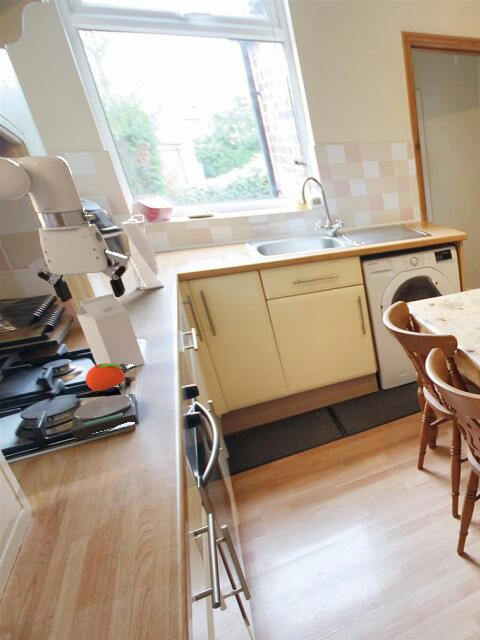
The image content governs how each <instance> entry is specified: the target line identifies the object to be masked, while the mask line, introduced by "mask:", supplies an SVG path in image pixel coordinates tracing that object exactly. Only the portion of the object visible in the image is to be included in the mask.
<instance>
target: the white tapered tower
mask: <svg viewBox="0 0 480 640" xmlns="http://www.w3.org/2000/svg"><path fill="white" fill-rule="evenodd" d="M139 216H140V217H141V216H142V220H138V219H137V218H134V217H139ZM145 218H146V215H145V214H141V213H139V214H138V213H137V214H134V215H133V214H132V215H131V216H130V217H129V219H127V220H123V221H121V222H120V224H121V226H122V228H123V230H124V232H125V234H126V236H127V238H128V247H129V252H130V255H129V259H130V260H129V263H130V264H131V270H132V274H133V277H134V281H135V284H136V288H137V289H139V290H140V291H143V292H145V291H149V290H155V289H160V288H163V287H165V285H164V284H163V283H162V282H161V281H160V276H159V267H158V262H157V261H158V260H157V256H156V253H155V251H154V248H153V246H152V244H151V241H150V240H149V238H148V237H147V234H146V225H145V223H146V222H145ZM141 280H142V281H141Z"/></svg>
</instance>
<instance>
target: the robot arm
mask: <svg viewBox="0 0 480 640" xmlns="http://www.w3.org/2000/svg"><path fill="white" fill-rule="evenodd" d="M26 195H28V197H29V199H30V202H31V204H32V206H33V209H34V211H35V214H36V216H37V219H38V221H39V224H40V226H41V227H39V228H38V234H39V241H40V246H41V251H42V253H43V256H42V257H39V259H37V260H35V261H33V262H31V263H30V264H28V268H29V269H30V270H31V271H32V272H33V273H35V274H36V275H37V277H38V278H40V279H42V280H43V281H46V282H47V283H48V284H49V285H51V286H52V287H53V289H54V292H55V294H56V296H57V298H58V299H59V300H60V301H61V303H66V302H68V301H70V300H71V299H73V295H72V292H71V290H70V288H69V285H68V283H67V281H66V280H63V278H64V277H65V276H73V275H75V276H76V275H86V274H98V273H103V274H104V275H106V276H107V277H108V278H110V280H109V284H110V286H111V289H112V293H113V296H114V298H121V297H123V295H125V293H126V288H125V285H124V282H123V279H122V277H123V275H124V274H125V273H126V271H127V270H128V267H129V264H130V261H131V259H130V257H128V256H126V255H122V254H119V253H116V252H113V251H111V250H110V248H109V246H108V244H107V243H106V240H105V238H104V236H103V235H102V233H101V231H100V230H99V228H98V225H96V223H90V222H91V220H96V215H95V213H94V212H89V211H87V209H85V206H84V203H83V201H82V198H81V195H80V192H79V190H78V187H77V184H76V181H75V179H74V176H73V173H72V170H71V167H70V165H69V163H68V161H66V159H64V158H63V157H62V156H58V155H57V156H56V155H27V156H21V157H4V156H3V157H2V156H0V200H1V201H13V200H14V201H15V200H19V199H21V198H23V197H25V196H26ZM115 262H118V263H119V265H118V268H116V267H114V266H115ZM45 265H47V267H48V270H49V271H50V272H49V271H48V270H45V268H43V266H45Z"/></svg>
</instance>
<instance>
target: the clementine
mask: <svg viewBox="0 0 480 640" xmlns="http://www.w3.org/2000/svg"><path fill="white" fill-rule="evenodd" d="M121 368H122V369H124V368H123V367H121V366H119V365H116V364H109V363H104V364H99V365H96V364H95V365H94V366H92V367H91V368H90V369H89V370H88V371H87V373H86V375H85V383H86V386H87V387H88V388H89V389H91V390H92V391H93V392H95V391H102V390H107V389H109V388H111V387H114V386H117V385H119V384H121V383H122V382H123V381H124V380H125V381H126V374H125V372H127V370H125V369H124V370H125V371H123V370H122V369H121Z"/></svg>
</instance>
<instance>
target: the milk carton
mask: <svg viewBox="0 0 480 640" xmlns="http://www.w3.org/2000/svg"><path fill="white" fill-rule="evenodd" d="M78 303H79V305H80V307H79V308H78V311H77V314H76V317H77V320H78V322H79V325H80V328H81V330H82V332H83V334H84V337H85V340H86V342H87V344H88V347H89V350H90V352H91V354H92V358H93V360H94V362H95V366H96V365H99V364H104V363H109V364H116V365H120V364H123V363H127V364H133V365H136V367H138V366H141V365H143V364H145V363H146V362H145V359H144V355H143V353H142V350H141V348H140V345H139V342H138V339H137V336H136V334H135V331H134V327H133V325H132V322H131V318H130V316H129V313H128V310H127V309H126V308H125V307H124V306H123V305H122V304H121V302H119V300H118V299H117V298H116V297H115V295H114V292H111V293H107V294H103V295H99V296H95V297H91V298H87V299H83V300H79V302H78Z"/></svg>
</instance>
